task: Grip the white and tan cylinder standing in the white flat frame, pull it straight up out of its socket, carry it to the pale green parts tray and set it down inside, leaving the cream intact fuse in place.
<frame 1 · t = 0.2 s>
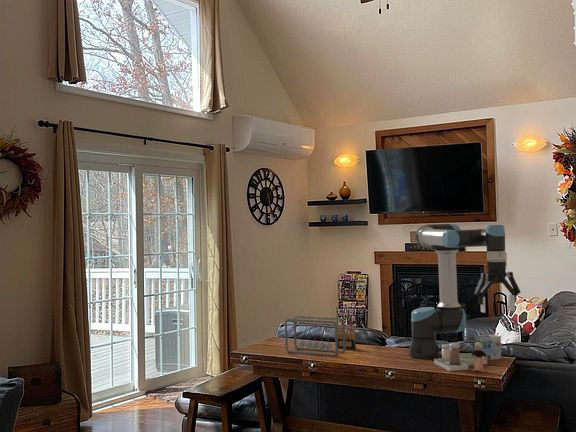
hand: (497, 311, 268), 27 cm above the table, tool pointing down, fingers open, 13 cm apart
ammunition clip: (346, 348, 337), on the table
light bulb box: (488, 358, 303), on the table
parts tray: (469, 362, 294), on the table
newton's cradle: (315, 353, 327), on the table
white flat frame: (450, 366, 288), on the table
grandmother figurine: (479, 371, 278), on the table
white and tan cylinder: (454, 368, 284), resting in white flat frame
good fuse: (447, 364, 292), resting in white flat frame
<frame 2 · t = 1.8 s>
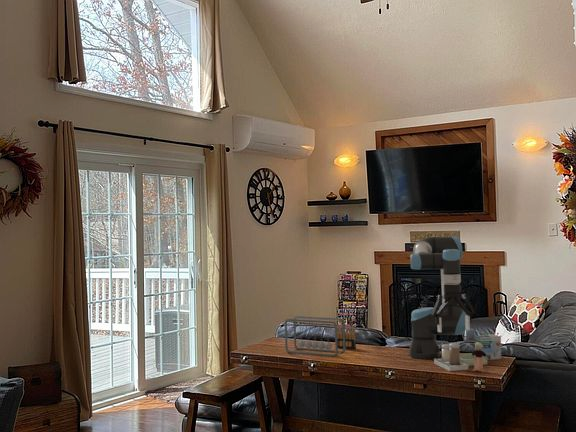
hand: (453, 331, 284), 17 cm above the table, tool pointing down, fingers open, 13 cm apart
nothing on the table moved.
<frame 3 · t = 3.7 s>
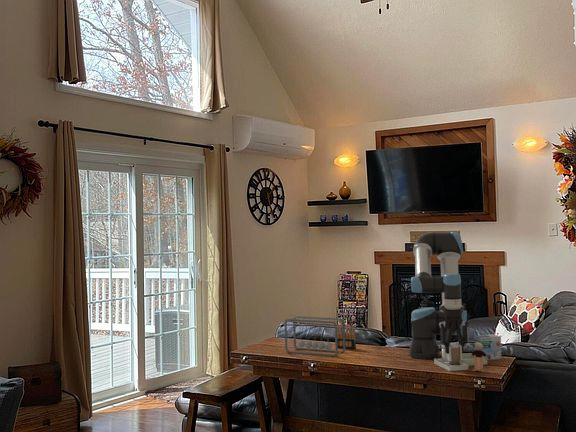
hand: (454, 360, 284), 4 cm above the table, tool pointing down, fingers closed on white and tan cylinder, 4 cm apart
white and tan cylinder: (454, 368, 284), resting in white flat frame, touching gripper
everything else where it was.
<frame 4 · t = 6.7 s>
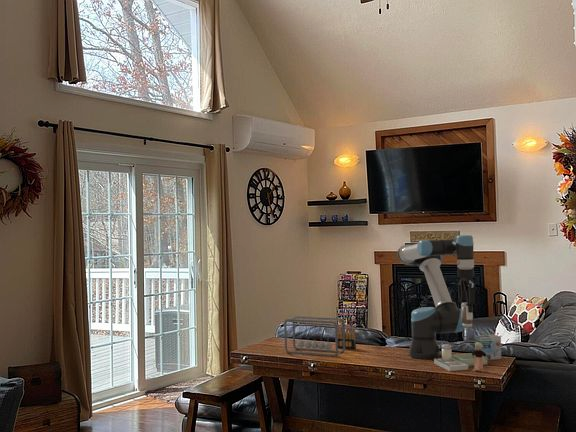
hand: (467, 318, 294), 21 cm above the table, tool pointing down, fingers closed on white and tan cylinder, 4 cm apart
white and tan cylinder: (467, 326, 294), point 17 cm above the table, touching gripper
everything else where it was.
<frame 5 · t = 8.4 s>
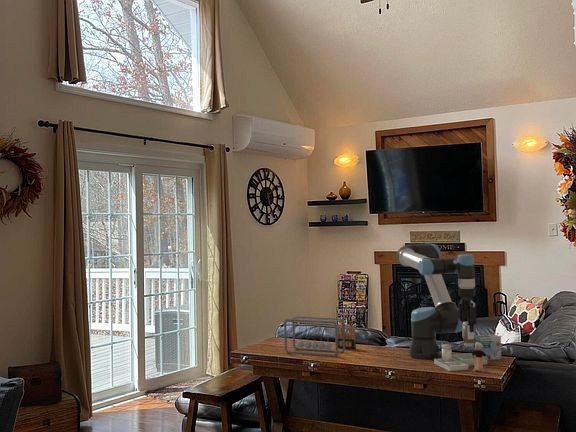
hand: (468, 337, 294), 12 cm above the table, tool pointing down, fingers closed on white and tan cylinder, 4 cm apart
white and tan cylinder: (468, 345, 294), point 8 cm above the table, touching gripper
everything else where it was.
when the fingers open (5 cm above the table, at t = 9.9 s): white and tan cylinder stays where it is, resting on parts tray.
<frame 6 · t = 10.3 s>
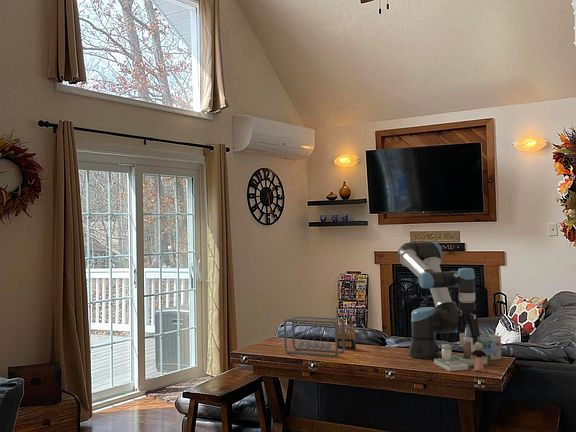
hand: (468, 349, 294), 6 cm above the table, tool pointing down, fingers open, 10 cm apart
white and tan cylinder: (468, 361, 294), point 1 cm above the table, touching parts tray
everything else where it was.
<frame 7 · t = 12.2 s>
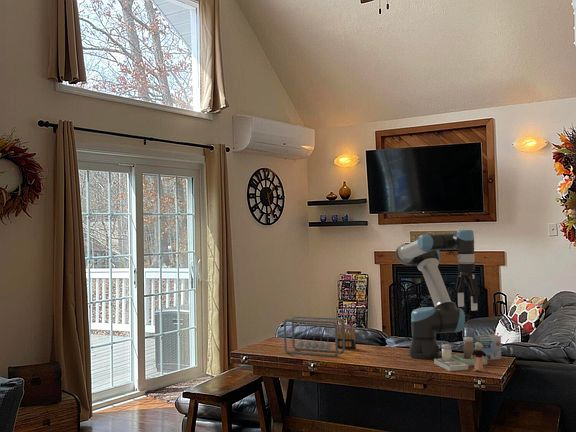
hand: (467, 308, 295), 25 cm above the table, tool pointing down, fingers open, 13 cm apart
nothing on the table moved.
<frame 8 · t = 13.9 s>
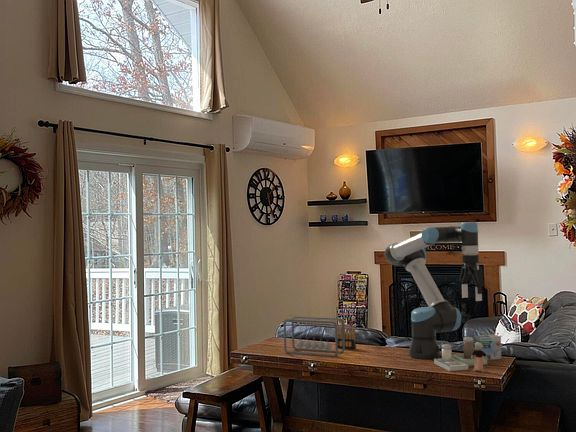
hand: (471, 299, 300), 29 cm above the table, tool pointing down, fingers open, 13 cm apart
at the end: white and tan cylinder inside the target area on the parts tray (0.0 cm from its centre), point 0.6 cm above the parts tray's base; the gripper is holding nothing; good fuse moved 0.0 cm from its start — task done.
